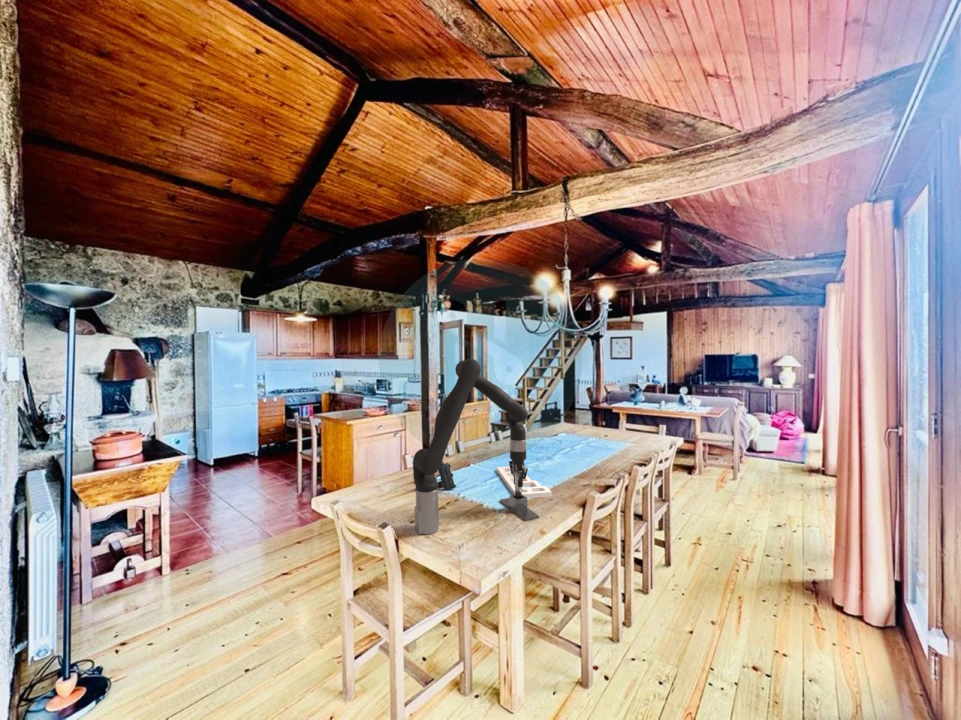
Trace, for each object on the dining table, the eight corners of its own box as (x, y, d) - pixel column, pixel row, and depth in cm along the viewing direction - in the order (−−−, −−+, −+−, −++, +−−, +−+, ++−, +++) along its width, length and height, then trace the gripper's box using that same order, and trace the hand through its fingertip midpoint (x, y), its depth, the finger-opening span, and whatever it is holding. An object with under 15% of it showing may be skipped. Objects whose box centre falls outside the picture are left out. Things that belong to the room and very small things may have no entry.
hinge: (525, 521, 176) (525, 507, 176) (499, 501, 198) (499, 489, 197) (539, 518, 179) (539, 504, 179) (512, 499, 201) (512, 487, 200)
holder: (496, 471, 245) (496, 467, 245) (525, 469, 248) (525, 465, 248) (517, 500, 201) (517, 494, 201) (551, 497, 204) (551, 492, 204)
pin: (517, 497, 186) (516, 473, 185) (513, 494, 189) (513, 471, 188) (523, 496, 187) (523, 472, 187) (519, 493, 190) (519, 470, 190)
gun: (419, 464, 212) (447, 455, 215) (428, 494, 214) (456, 485, 216) (420, 466, 210) (448, 457, 212) (429, 496, 211) (456, 487, 214)
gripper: (503, 446, 192) (503, 482, 193) (518, 453, 179) (518, 492, 180) (517, 444, 195) (517, 479, 196) (533, 451, 182) (533, 489, 183)
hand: (518, 485), depth 188 cm, fingers closed on pin, 3 cm apart
